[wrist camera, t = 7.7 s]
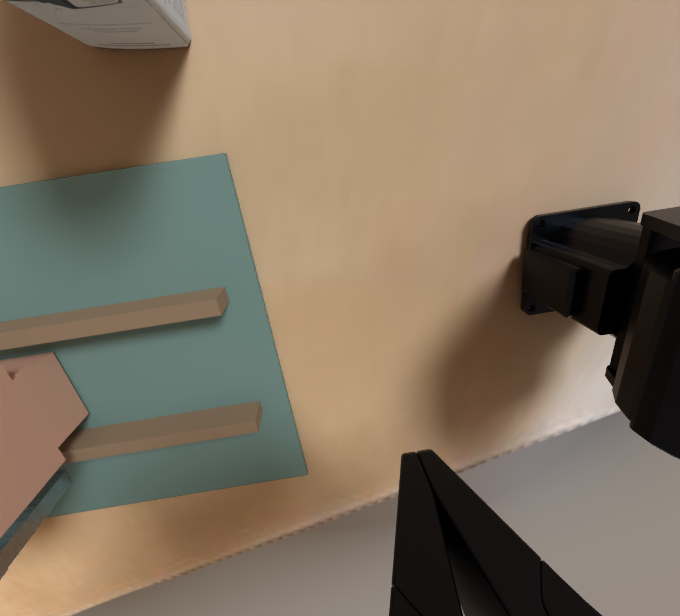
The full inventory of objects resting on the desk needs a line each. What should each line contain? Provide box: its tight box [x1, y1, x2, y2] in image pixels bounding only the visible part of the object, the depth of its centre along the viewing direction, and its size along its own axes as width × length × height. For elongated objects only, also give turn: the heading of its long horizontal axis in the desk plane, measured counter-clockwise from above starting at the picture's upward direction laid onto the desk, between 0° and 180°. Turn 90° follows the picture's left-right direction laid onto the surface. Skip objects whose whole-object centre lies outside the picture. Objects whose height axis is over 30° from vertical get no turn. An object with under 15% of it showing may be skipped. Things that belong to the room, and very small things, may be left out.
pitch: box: [0, 153, 308, 518], centre depth 21 cm, size 28×24×2 cm
